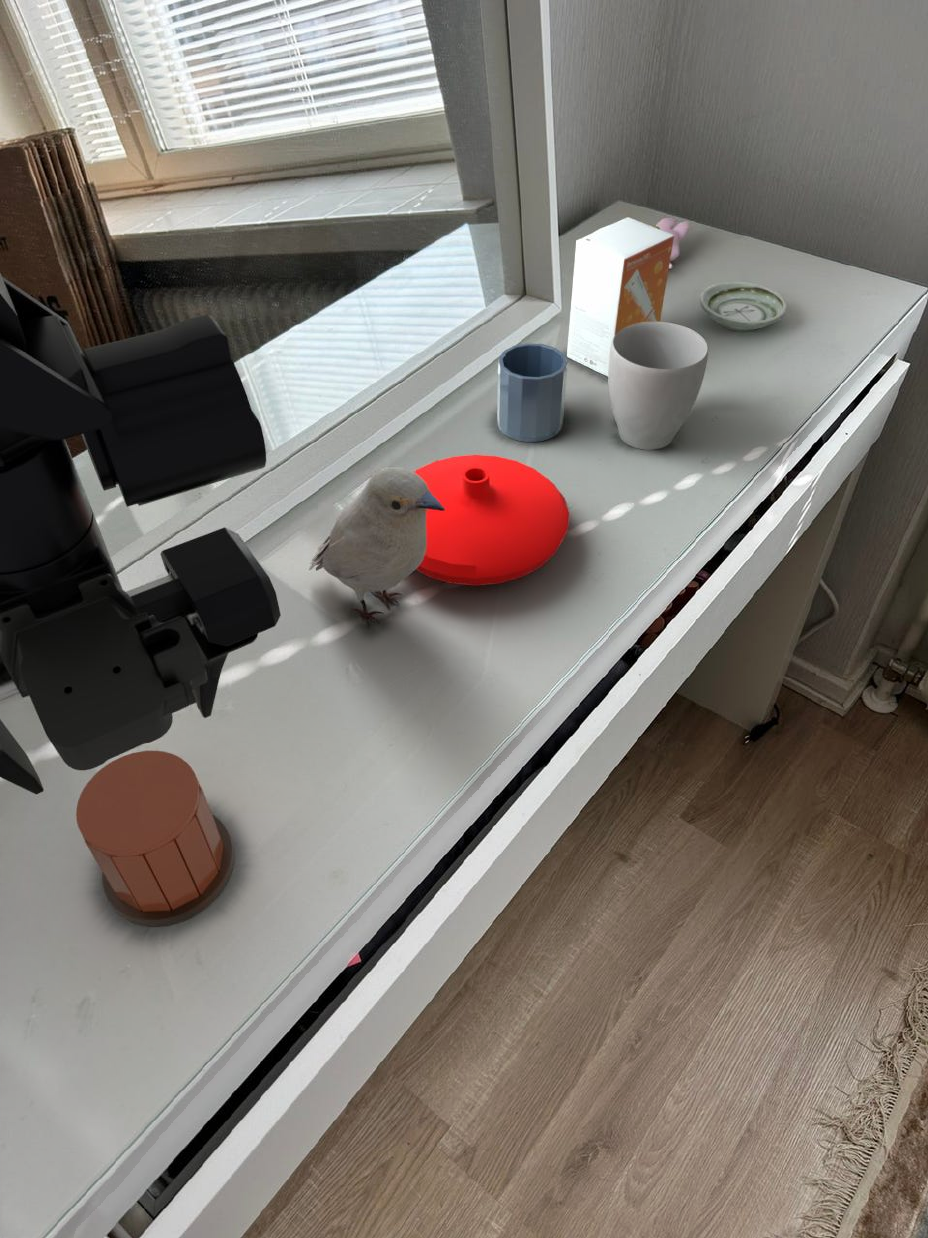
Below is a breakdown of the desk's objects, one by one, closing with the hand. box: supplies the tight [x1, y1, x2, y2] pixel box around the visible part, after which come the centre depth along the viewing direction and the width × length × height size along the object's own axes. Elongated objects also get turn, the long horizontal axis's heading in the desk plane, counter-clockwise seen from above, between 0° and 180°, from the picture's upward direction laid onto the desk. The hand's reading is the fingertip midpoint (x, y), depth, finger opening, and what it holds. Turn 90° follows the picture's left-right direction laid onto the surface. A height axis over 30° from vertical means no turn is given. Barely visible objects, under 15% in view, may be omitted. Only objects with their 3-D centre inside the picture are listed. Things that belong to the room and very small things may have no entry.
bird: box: [308, 466, 445, 630], centre depth 68 cm, size 5×14×15 cm, turn 56°
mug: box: [607, 321, 709, 451], centre depth 87 cm, size 12×9×10 cm
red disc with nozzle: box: [413, 454, 570, 586], centre depth 77 cm, size 16×16×7 cm
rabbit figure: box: [654, 217, 691, 270], centre depth 113 cm, size 6×6×15 cm
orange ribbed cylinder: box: [75, 750, 224, 912], centre depth 55 cm, size 7×7×7 cm
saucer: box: [699, 281, 788, 332], centre depth 104 cm, size 10×10×2 cm
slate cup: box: [496, 342, 569, 443], centre depth 89 cm, size 6×6×7 cm
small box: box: [566, 216, 674, 378], centre depth 96 cm, size 8×6×13 cm
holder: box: [101, 814, 235, 927], centre depth 56 cm, size 8×8×6 cm
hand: (124, 748), depth 50 cm, fingers open, 9 cm apart
